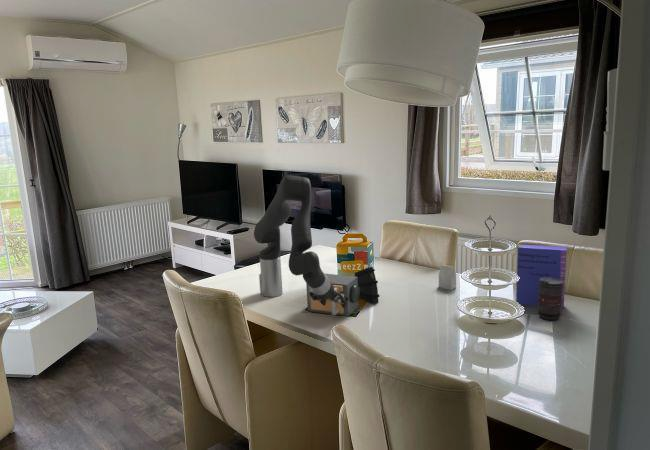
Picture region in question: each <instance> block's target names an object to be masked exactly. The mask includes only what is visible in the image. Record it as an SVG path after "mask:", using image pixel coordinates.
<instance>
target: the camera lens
mask: <svg viewBox="0 0 650 450" xmlns="http://www.w3.org/2000/svg"><path fill="white" fill-rule="evenodd" d="M562 292H563V284H562V281H561V280H559V279H556V278H550V277H545V278H541V279H540V282H539V296H538V307H537V311H538V315H539V319H540V320H541V321H544V322H550V323H555V322H558V321H560V316H561V312H562V309H561V299H562Z"/></svg>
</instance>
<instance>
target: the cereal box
mask: <svg viewBox="0 0 650 450" xmlns="http://www.w3.org/2000/svg"><path fill="white" fill-rule="evenodd" d="M567 248H568V247H567V246H553V245H551V246H549V245H548V246H547V245H535V244H534V245H531V244H518V247H517V261H516V262H517V263H516V264H517V265H516V266H517V267H516V268H517V269H516V276H517V275H518V276H519V277H520V279H519V281H518V282H517V281H516V293H515V298H516V299H515V303H516V302H518V303H519V304H521V305H520V306H527V307H528V306H529V307H536V308H538V296H539V282H540V279H541V278H545V277H550V278H556V279H559V280H561V281H562V284H563V292H562V299H561V310H564V309H565V307H564V306H565V288H566V272H567V268H566V267H567V256H568V255H567V254H568V253H567V251H568V249H567Z"/></svg>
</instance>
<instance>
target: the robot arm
mask: <svg viewBox="0 0 650 450" xmlns="http://www.w3.org/2000/svg"><path fill="white" fill-rule="evenodd" d="M290 201H291V202H292V201H293V202H301V205H300V210H299V211H298V213H297V215H296V216H295V217H294V219H293V221H292V224H291V227H290V235H291V248H290V252H289V253H290V254H289V257H288V269H289V271H290V272H291V274H292V275H293V276H296V277H297V276H301V275H302V278H303V280H304V282H305V284H306V283H307V284H308V285H309V288H310V289H311V290H310V293H309V294H310V296H311V297H312V299H313V300H318V301H319V302H320V303H321V304H322V305H325V304H326V300H331V301H333V302H335V303H340V304H341V306H342V307H343V308H345V307H346V305H347V302H348V297H347V296H346V294H345V293H344V292H343V291H341V293H337V292H336V291H335V290H334V286H333V285H332V283H331V282H330V280H329V279H328V277H327V276H326V275H325V274H326V273H325V272H324V271H323V270H322V268H321V263H320V258H319V255H318V254H317V253H316V252H315V251H308V250H310V249H311V248H312V246H313V240H312V238H313V237H312V230H311V209H312V207H311V206H312V184H311V181H310V179H309V178H308V177H304V176H298V175H285V176H284V177H283V178H282V179H281V181H280V182H279V186H278V187H277V190H276V193H275V196H274V197H273V199H272V201H271V202H270V203H269V205H268V207H267V209H266V211H265V213H264V214H263V216H262V217H261V219H260V220H259V221H258V222H257V223H256V225H254V226H255V227H254V228H253V229H254V230H253V237H254V240H255V241H256V242H257V243H259V244H261V245H262V244H268V246H267V247H264V248H263V249H262V250H260V251H259V265H260V267H259V268H260V273H259V275H258V279H259V291H260V295H261V296H263V297H265V298H266V297H267V298H273V297H274V298H275V297H278V296H281V295H283V293H284V292H283V278H282V261H281V230H280V229H281V228H280V227H281V226H283V225H284V224H285V223H286V222H287V221H288V219H289V218H290V216H291V214H292V206H291V203H290ZM324 273H325V274H324ZM335 298H336V300H335ZM339 299H341V301H339Z"/></svg>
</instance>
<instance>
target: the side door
mask: <svg viewBox="0 0 650 450" xmlns="http://www.w3.org/2000/svg"><path fill="white" fill-rule="evenodd" d="M333 286H334V290H335V291H336V292H337V293H341V291H343V286H339V285H333ZM308 288H309V285H308ZM310 290H311V289H310V288H309V293H310ZM335 300H336V298H335ZM339 301H341V299H339ZM309 307H310V309H314V310H321V311H329V312H332V314H331V316H336V314H337V313H344V308H343V307H342V306H341V304H340V303H335V302H333V301H331V300H326V304H325V305H322V304H321V303H320V302H319V301H318V300H313V299H312V297H311V296H310V294H309Z"/></svg>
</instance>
